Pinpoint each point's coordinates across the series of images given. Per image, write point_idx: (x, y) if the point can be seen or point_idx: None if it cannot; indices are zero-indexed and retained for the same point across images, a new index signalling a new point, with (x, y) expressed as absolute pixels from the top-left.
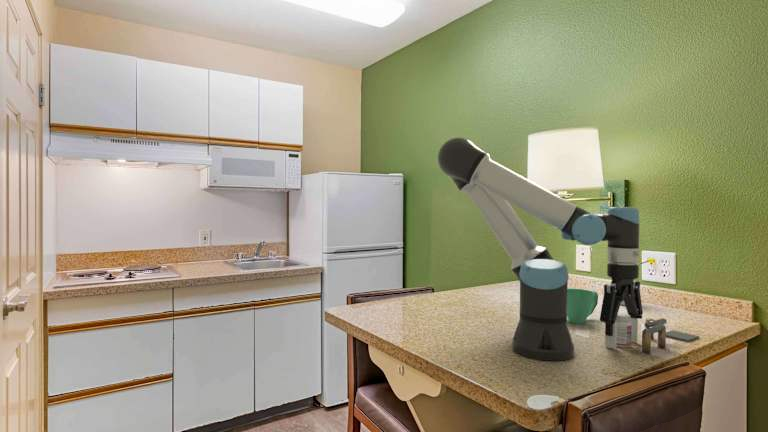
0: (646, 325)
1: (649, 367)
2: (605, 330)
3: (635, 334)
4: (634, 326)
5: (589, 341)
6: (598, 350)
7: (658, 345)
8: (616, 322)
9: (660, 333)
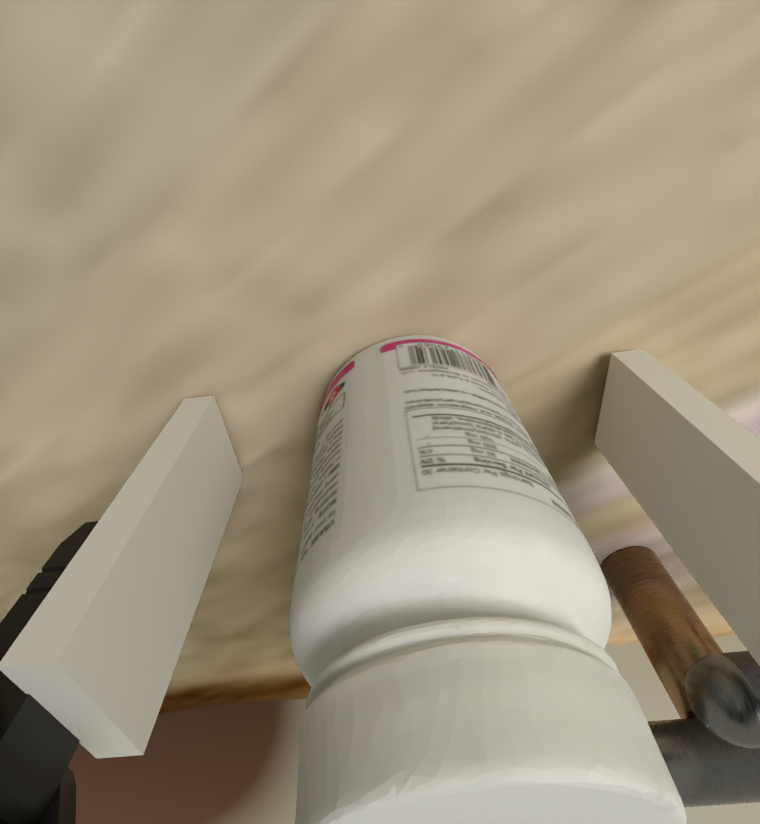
0: (696, 707)
1: (177, 688)
2: (33, 583)
3: (638, 494)
4: (703, 564)
5: (149, 155)
6: (44, 431)
7: (616, 573)
8: (304, 661)
9: (671, 691)
